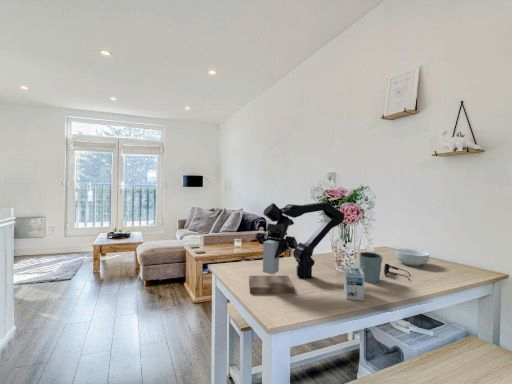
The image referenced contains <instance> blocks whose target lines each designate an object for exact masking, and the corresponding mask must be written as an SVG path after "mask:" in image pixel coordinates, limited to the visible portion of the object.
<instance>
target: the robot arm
mask: <svg viewBox="0 0 512 384" xmlns="http://www.w3.org/2000/svg"><path fill="white" fill-rule="evenodd" d="M316 212H323V215H325V217H324V221H323V223H321V225H320V226H319V227H318V228H317V229H316V230H315V232H314V233H313V234H312V235H311V236H310V237H309V238H308V239H307V240H306V241H305V242H304V243H302V242H299V243H298V241H297V238H296V237H295V236H289V235H288V232H287V231H288V229H289V226H293V225H295V223H294V221H293V219H292V218H294V219H295V218H299V217H301V216H303V215H304V214H309V213H316ZM262 214H263V215H264V216H265V217H267V219H269V220H270V221H271V222H273V223H267V227H266V232H268V235H269V236H268V235H266V233H265V232H264V233H263V232H257V233H255V235H254V237H255V239H256V240H257V242H258V244H260V245H263V242H265V241H268V240H273V241H279V247H278V249H277V252H276V254H275V259H276V258H277V257H278V256H279V257H280V256H281V255H282V254H283V253H285V252H286V251H287V250H290V249H291V250H293V251H292V255H293V258H294V259H295V262H296V263H297V265H296V269H295V270H296V276H297V277H298V278H299V279H313V278H314V277H313V276H312V274H313V273H312V269H313V267H314V266H315V261H316V260H314V259H313V258H312V257H313V253H314V250H315V248H317V246H318V245H319V243H321V242H322V240H323V239H324V238H325V237H326V236H327V235H328V233H330V231H331V230H332V229H333V228H335V227H337V226H339V225H340V224H342V223H343V222H344V220H345V214H344V212H343V211H342V210H341V211H340V210H339V209H338V208H336V207H335V206H334V205H332V204H331V203H330V202H329V201H321V202H320V201H319V202H314V203H307V204H291V203H290V204H288V203H287V204H286V205H285V206H284V207H282V208H280V207H278V205H276V203H274V202H272V203H270V205H268V206H267V207H266V208H265V209H264V210H263V213H262ZM274 222H276V223H274Z"/></svg>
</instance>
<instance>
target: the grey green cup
mask: <svg viewBox="0 0 512 384" xmlns="http://www.w3.org/2000/svg"><path fill="white" fill-rule="evenodd" d="M358 255H359V266H360V267H361V269H362V271H363V272H364V274H365V275H364V283H370V284H377V283H379V282H380V277H381V270H382V262H383V255H381V254H379V253H377V252H372V251H371V252H369V251H362V252H360V253H359V254H358Z"/></svg>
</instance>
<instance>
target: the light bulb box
mask: <svg viewBox="0 0 512 384" xmlns="http://www.w3.org/2000/svg"><path fill="white" fill-rule="evenodd" d="M343 269H344V271H343V272H344V275H343V276H344V278H343V291H344V295H345V298H346V300H351V301H352V300H354V301H364V300H365V282H364V275H365V274H364V272H363V271H362V269H361V267H360V265H351V264H349V265H348V264H344V267H343Z"/></svg>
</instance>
